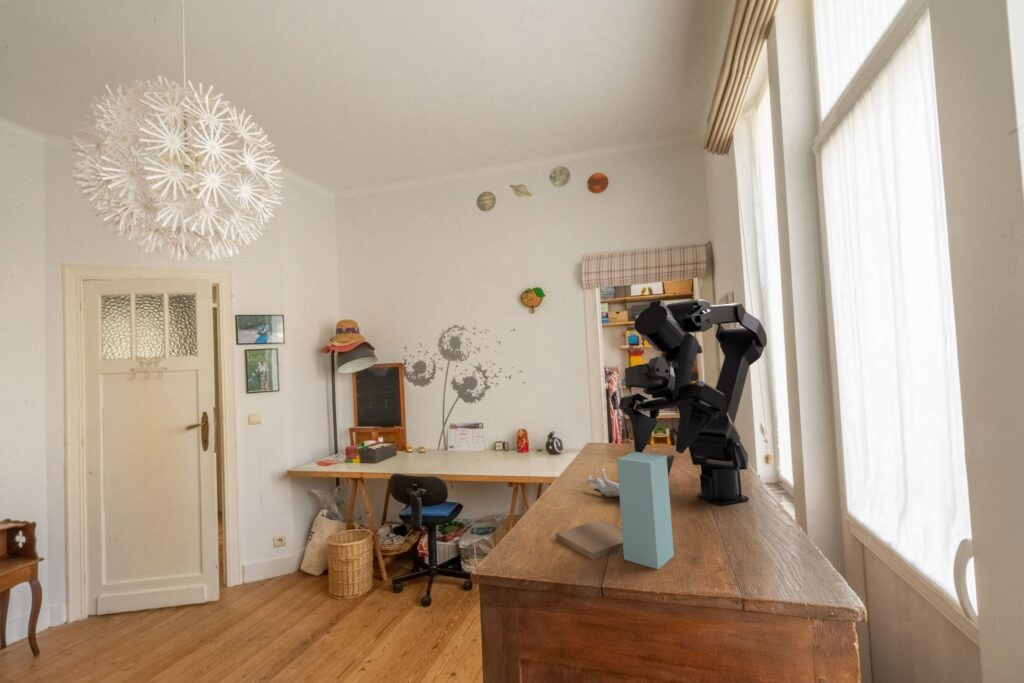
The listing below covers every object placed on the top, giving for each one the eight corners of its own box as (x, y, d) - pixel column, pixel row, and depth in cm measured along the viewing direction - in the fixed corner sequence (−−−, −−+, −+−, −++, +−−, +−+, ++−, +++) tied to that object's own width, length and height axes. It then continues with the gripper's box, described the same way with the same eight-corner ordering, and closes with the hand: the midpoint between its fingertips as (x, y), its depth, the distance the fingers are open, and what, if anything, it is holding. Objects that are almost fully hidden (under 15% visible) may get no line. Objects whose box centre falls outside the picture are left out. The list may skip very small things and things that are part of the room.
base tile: (600, 528, 75) (599, 519, 75) (639, 546, 67) (638, 536, 67) (556, 542, 71) (555, 533, 71) (593, 564, 63) (592, 553, 63)
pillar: (641, 546, 66) (634, 451, 66) (673, 555, 62) (666, 455, 63) (624, 559, 62) (617, 458, 63) (658, 569, 59) (650, 463, 59)
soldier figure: (609, 491, 97) (648, 484, 87) (601, 510, 94) (641, 506, 84) (583, 469, 96) (620, 460, 86) (574, 488, 93) (612, 482, 83)
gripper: (606, 355, 82) (583, 435, 76) (682, 329, 65) (660, 429, 59) (652, 380, 85) (633, 459, 79) (735, 362, 69) (720, 460, 63)
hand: (657, 452), depth 70 cm, fingers open, 9 cm apart
